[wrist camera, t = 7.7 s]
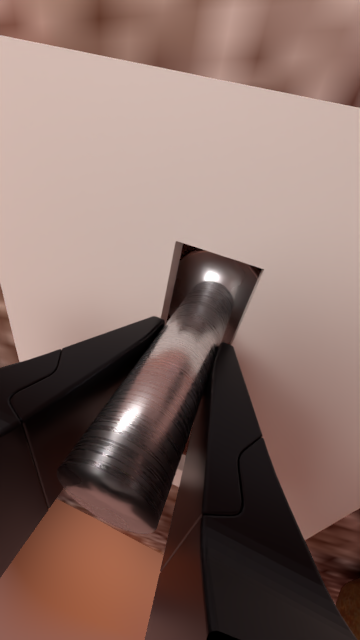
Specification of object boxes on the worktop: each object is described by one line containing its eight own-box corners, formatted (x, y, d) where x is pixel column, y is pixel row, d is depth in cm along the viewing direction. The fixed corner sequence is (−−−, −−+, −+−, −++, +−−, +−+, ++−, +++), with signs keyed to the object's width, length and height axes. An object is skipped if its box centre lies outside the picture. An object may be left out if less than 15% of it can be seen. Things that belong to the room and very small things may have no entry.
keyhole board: (659, 195, 6) (869, 210, 4) (294, 497, 18) (295, 545, 16) (17, 56, 10) (-64, 22, 7) (58, 387, 21) (32, 414, 19)
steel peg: (282, 263, 10) (282, 518, 3) (244, 344, 12) (193, 589, 5) (181, 232, 11) (-30, 367, 3) (165, 315, 13) (23, 493, 6)
